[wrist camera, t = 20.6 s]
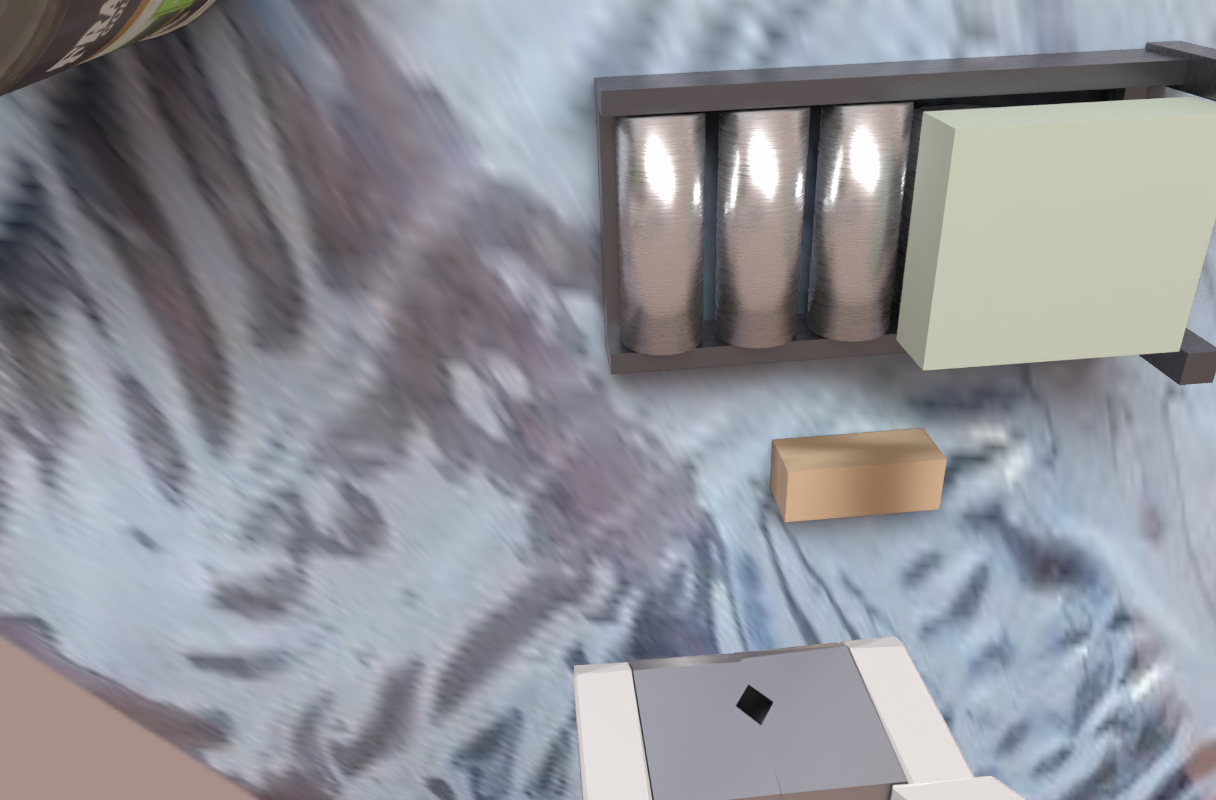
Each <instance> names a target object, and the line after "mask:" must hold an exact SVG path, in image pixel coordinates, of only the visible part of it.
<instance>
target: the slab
mask: <svg viewBox="0 0 1216 800" xmlns="http://www.w3.org/2000/svg"><path fill="white" fill-rule="evenodd" d="M1215 219H1216V103H1213V102H1209V101H1206V100H1203V99H1200V98H1196V97H1193V96H1192V97H1174V98H1156V99H1138V100H1120V101H1103V102H1085V103H1067V104H1049V105H1031V106H1014V107H996V108H978V109H960V110H943V111H925V112H923V118H922V126H921V135H920V143H919V152H918V160H917V168H916V177H915V185H914V194H913V202H912V211H911V219H910V228H909V236H908V245H907V253H906V262H905V270H904V278H903V287H902V295H901V304H900V312H899V321H898V329H897V338H896V340H897V341H898V342H899V344H900V345H901V346H902V347H903V348H904V349H905V351H906V352H907V353H908V354H909V355H910V356H911V357H912V359H913V360H914V361H915V362H916V363H917V364H918V366H919V367H920V368H921V369H922V370H923V371H924V370H938V369H951V368H965V367H978V366H991V365H1005V364H1018V363H1032V362H1045V361H1059V360H1072V359H1086V358H1099V357H1113V356H1126V355H1139V354H1153V353H1166V352H1179V351H1180V347H1181V343H1182V340H1183V336H1184V332H1185V329H1186V325H1187V321H1188V318H1189V314H1190V310H1191V307H1192V303H1193V299H1194V296H1195V292H1196V289H1197V285H1198V281H1199V278H1200V274H1201V270H1202V267H1203V263H1204V259H1205V256H1206V252H1207V248H1208V245H1209V241H1210V237H1211V234H1212V230H1213V226H1214V223H1215Z"/></svg>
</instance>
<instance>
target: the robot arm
mask: <svg viewBox="0 0 1216 800" xmlns="http://www.w3.org/2000/svg"><path fill="white" fill-rule="evenodd" d="M574 693H575V707H576V721H577V735H578V749H579V763H580V777H581V791H582V800H1027V799H1025V798H1024V797H1022V796H1021V795H1019V794H1018V793H1016V792H1015V791H1014V790H1012V789H1011V788H1009V787H1008V786H1006V785H1005V784H1003V783H1002V782H1000V781H999V780H997V779H996V778H995V777H993V776H985V777H975V776H974V774H973V772H972V771H971V769H970V767H969V765H968V763H967V761H966V759H965V757H964V756H963V754H962V752H961V750H960V748H959V746H958V744H957V742H956V741H955V739H954V737H953V735H952V733H951V731H950V729H949V728H948V726H947V724H946V722H945V720H944V718H943V716H942V714H941V713H940V711H939V709H938V707H937V705H936V703H935V701H934V699H933V698H932V696H931V694H930V692H929V690H928V688H927V686H926V684H925V683H924V681H923V679H922V677H921V675H920V673H919V671H918V670H917V668H916V666H915V664H914V662H913V660H912V658H911V656H910V655H909V653H908V651H907V649H906V647H905V645H904V643H903V642H901V641H900V640H899V639H898V638H896V637H895V636H889V637H880V638H870V639H861V640H852V641H842V642H841V643H840V644H839V643H827V644H817V645H807V646H797V647H787V648H778V649H768V650H758V651H748V652H739V653H734V654H720V655H705V656H690V657H676V658H661V659H647V660H632V661H630V665H629V664H628V662H625V663H608V664H591V665H575V666H574Z"/></svg>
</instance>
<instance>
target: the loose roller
mask: <svg viewBox="0 0 1216 800" xmlns="http://www.w3.org/2000/svg"><path fill="white" fill-rule="evenodd" d="M978 108H992V107H987V106H980V105H971V104H951V105H935V106H923V107H919V108H916V109H914V110H913V119H912V127H911V136H910V145H909V154H908V163H907V172H906V180H905V189H904V198H903V207H902V216H901V224H900V233H899V242H898V251H897V261H896V270H895V280H894V289H893V299H892V302H893V304H894V306H895V307H896V308H898V309H899V310H900V304H901V295H902V287H903V278H904V270H905V262H906V253H907V245H908V236H909V228H910V219H911V211H912V202H913V194H914V185H915V177H916V168H917V160H918V152H919V143H920V135H921V126H922V118H923V112H925V111H943V110H960V109H978Z"/></svg>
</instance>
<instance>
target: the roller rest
mask: <svg viewBox="0 0 1216 800" xmlns="http://www.w3.org/2000/svg"><path fill="white" fill-rule="evenodd" d="M946 461H947V459H946V458H945V456H944V455H943V454H942V452H941V451H940V450H939V448H938V447H937V446H936V445H935V443H934V442H933V441H932V439H931V438H930V437H929V435H928V434H927V433H926V432H925V430H924V429H923V428H917V429H904V430H892V431H879V432H866V433H853V434H841V435H828V436H815V437H802V438H790V439H777V440H773V442H772V461H771V479H770V489H771V492H772V494H773V496H774V498H775V501H776V503H777V505H778V508H779V510H780V512H781V514H782V517H783V519H784V521H785V522H794V521H805V520H817V519H829V518H841V517H853V516H865V515H877V514H889V513H901V512H912V511H924V510H936V509H939V506H940V500H941V493H942V487H943V481H944V474H945V468H946Z"/></svg>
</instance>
